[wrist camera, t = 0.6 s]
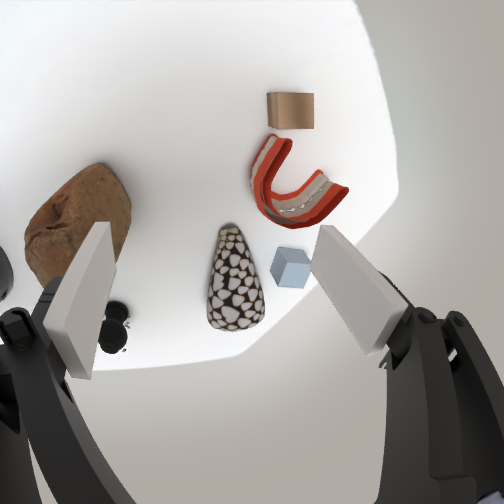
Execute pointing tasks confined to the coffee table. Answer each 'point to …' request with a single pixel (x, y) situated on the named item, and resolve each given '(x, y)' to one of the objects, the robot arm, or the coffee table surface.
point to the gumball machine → (113, 328)
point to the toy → (270, 201)
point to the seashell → (234, 285)
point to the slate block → (290, 268)
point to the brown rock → (75, 221)
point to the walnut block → (290, 110)
